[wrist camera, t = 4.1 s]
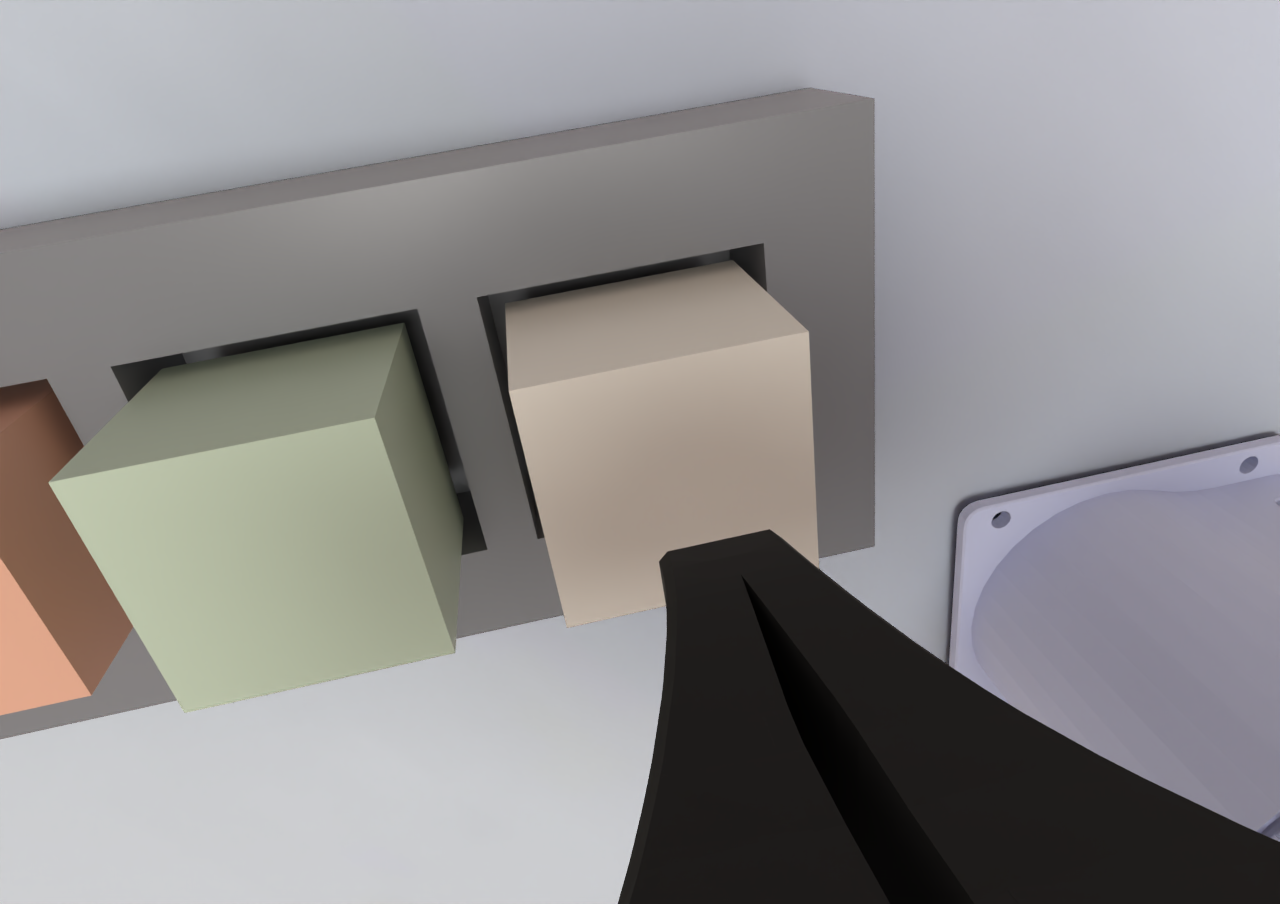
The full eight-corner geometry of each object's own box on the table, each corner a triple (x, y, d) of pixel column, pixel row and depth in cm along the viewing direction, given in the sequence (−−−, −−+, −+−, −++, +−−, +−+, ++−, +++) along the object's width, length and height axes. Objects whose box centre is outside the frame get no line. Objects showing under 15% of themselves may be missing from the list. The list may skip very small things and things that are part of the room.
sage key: (404, 322, 14) (373, 417, 11) (463, 518, 16) (454, 653, 13) (161, 368, 14) (47, 482, 10) (253, 562, 16) (184, 713, 12)
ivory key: (732, 260, 14) (809, 331, 11) (750, 458, 16) (819, 572, 13) (505, 303, 14) (508, 390, 11) (551, 500, 16) (567, 627, 13)
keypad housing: (810, 87, 15) (874, 98, 13) (824, 478, 20) (874, 545, 17) (-338, 288, 14) (-530, 346, 11) (-50, 664, 18) (-141, 770, 16)
